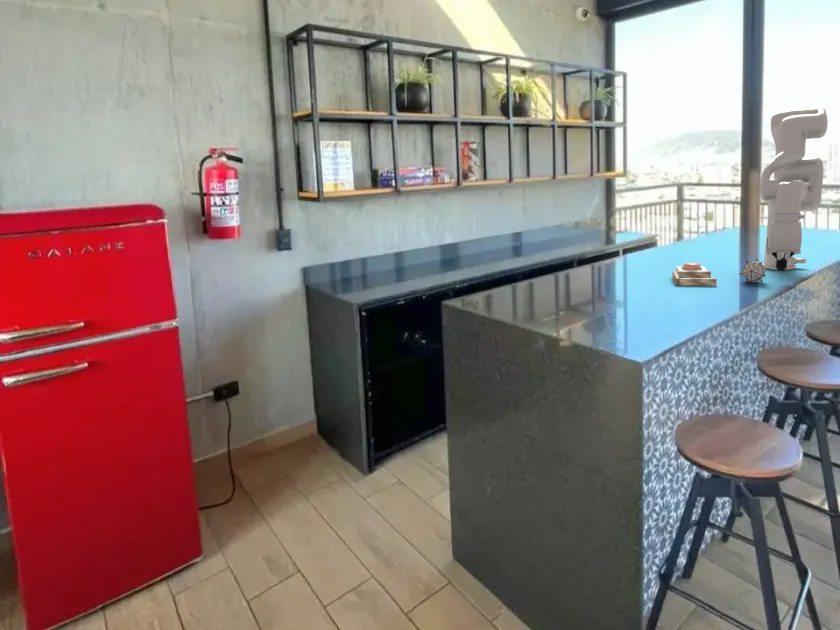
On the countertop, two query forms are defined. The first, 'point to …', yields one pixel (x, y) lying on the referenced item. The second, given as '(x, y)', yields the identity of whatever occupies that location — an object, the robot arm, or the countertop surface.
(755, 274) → the game die
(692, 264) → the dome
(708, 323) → the countertop surface
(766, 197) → the robot arm
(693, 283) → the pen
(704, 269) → the collar
